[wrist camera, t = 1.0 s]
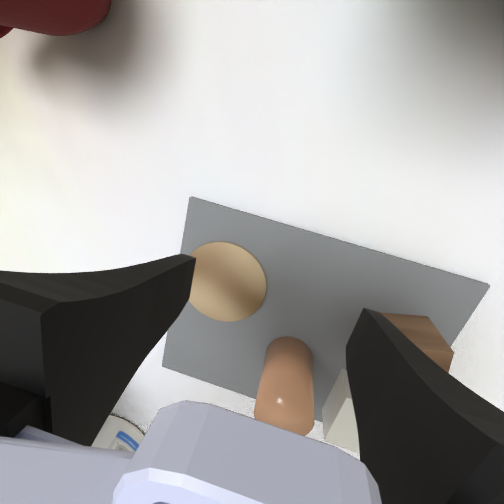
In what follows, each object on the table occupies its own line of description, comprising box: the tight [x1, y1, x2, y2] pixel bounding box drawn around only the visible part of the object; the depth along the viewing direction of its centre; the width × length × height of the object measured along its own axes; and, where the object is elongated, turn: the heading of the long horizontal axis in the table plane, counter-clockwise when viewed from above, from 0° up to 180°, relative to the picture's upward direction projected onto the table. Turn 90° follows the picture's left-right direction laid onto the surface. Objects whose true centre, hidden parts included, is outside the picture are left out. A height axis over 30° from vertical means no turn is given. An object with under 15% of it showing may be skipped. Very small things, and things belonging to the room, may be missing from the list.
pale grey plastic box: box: [322, 369, 360, 453], centre depth 23 cm, size 5×3×3 cm, turn 166°
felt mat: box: [162, 197, 490, 422], centre depth 24 cm, size 17×22×1 cm
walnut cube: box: [379, 312, 454, 373], centre depth 20 cm, size 4×4×4 cm
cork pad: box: [189, 241, 267, 322], centre depth 23 cm, size 7×7×1 cm
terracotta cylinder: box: [254, 336, 314, 436], centre depth 22 cm, size 4×4×6 cm
